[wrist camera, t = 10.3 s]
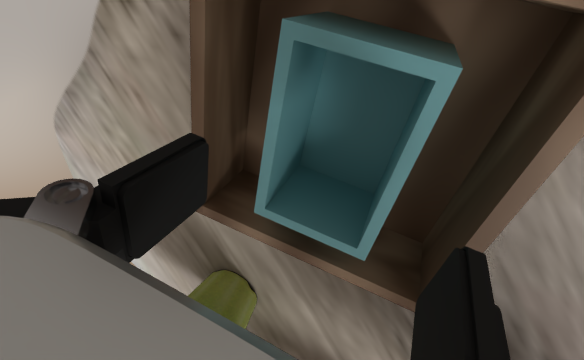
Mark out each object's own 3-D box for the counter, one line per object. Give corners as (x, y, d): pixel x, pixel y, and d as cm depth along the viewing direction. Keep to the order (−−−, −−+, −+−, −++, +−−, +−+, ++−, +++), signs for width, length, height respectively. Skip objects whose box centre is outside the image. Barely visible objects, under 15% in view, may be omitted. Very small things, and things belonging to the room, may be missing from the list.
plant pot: (198, 244, 32) (134, 310, 26) (276, 280, 30) (229, 364, 23) (200, 294, 38) (148, 360, 31) (266, 327, 36) (226, 407, 29)
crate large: (602, -6, 12) (704, -5, 8) (428, 247, 22) (427, 318, 17) (261, -76, 16) (187, -106, 11) (238, 169, 25) (193, 210, 20)
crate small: (454, 44, 14) (463, 68, 10) (381, 199, 20) (364, 261, 16) (327, 11, 16) (282, 18, 11) (293, 165, 22) (253, 212, 17)
